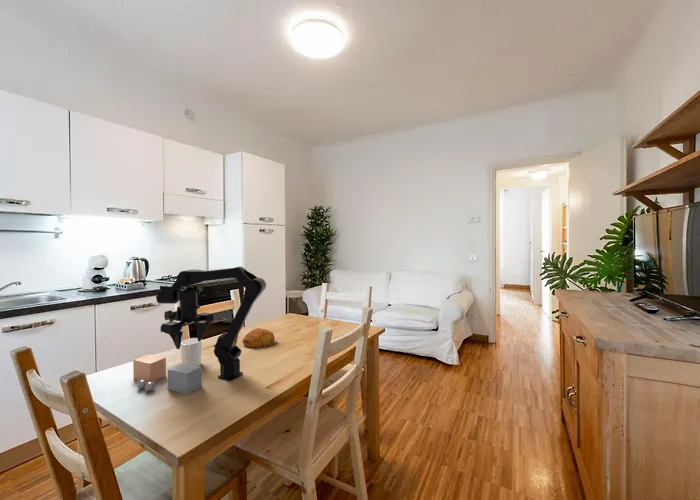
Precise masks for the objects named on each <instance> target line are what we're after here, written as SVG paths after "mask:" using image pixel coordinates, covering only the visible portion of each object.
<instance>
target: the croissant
mask: <svg viewBox="0 0 700 500" xmlns="http://www.w3.org/2000/svg"><path fill="white" fill-rule="evenodd" d="M274 342H275V334H274V333H273V332H272V331H270V330H268V329H265V328H254V329H252V330H251V331H249V332H248V333H246V334H245V335H244V336H243V339H242V344H243V346H246V347H248V348H251V349H253V348H258V349H260V347H262V348H263V347H268V346H270V345H273V344H274Z"/></svg>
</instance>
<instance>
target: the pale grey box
mask: <svg viewBox="0 0 700 500" xmlns="http://www.w3.org/2000/svg"><path fill="white" fill-rule="evenodd" d="M202 367H203V366H200V365H199V366H196V365H191V364H187V363H182V362H181V363H179V364H177V365H175V366H172V367H170V368H168V369H167V390H170V391H173V392H176V393H181V394H184V395H189V394H191V393H192V392H195V391H196V390H198V389H199V388H201V387H203V377H202V376H203V368H202Z"/></svg>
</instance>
